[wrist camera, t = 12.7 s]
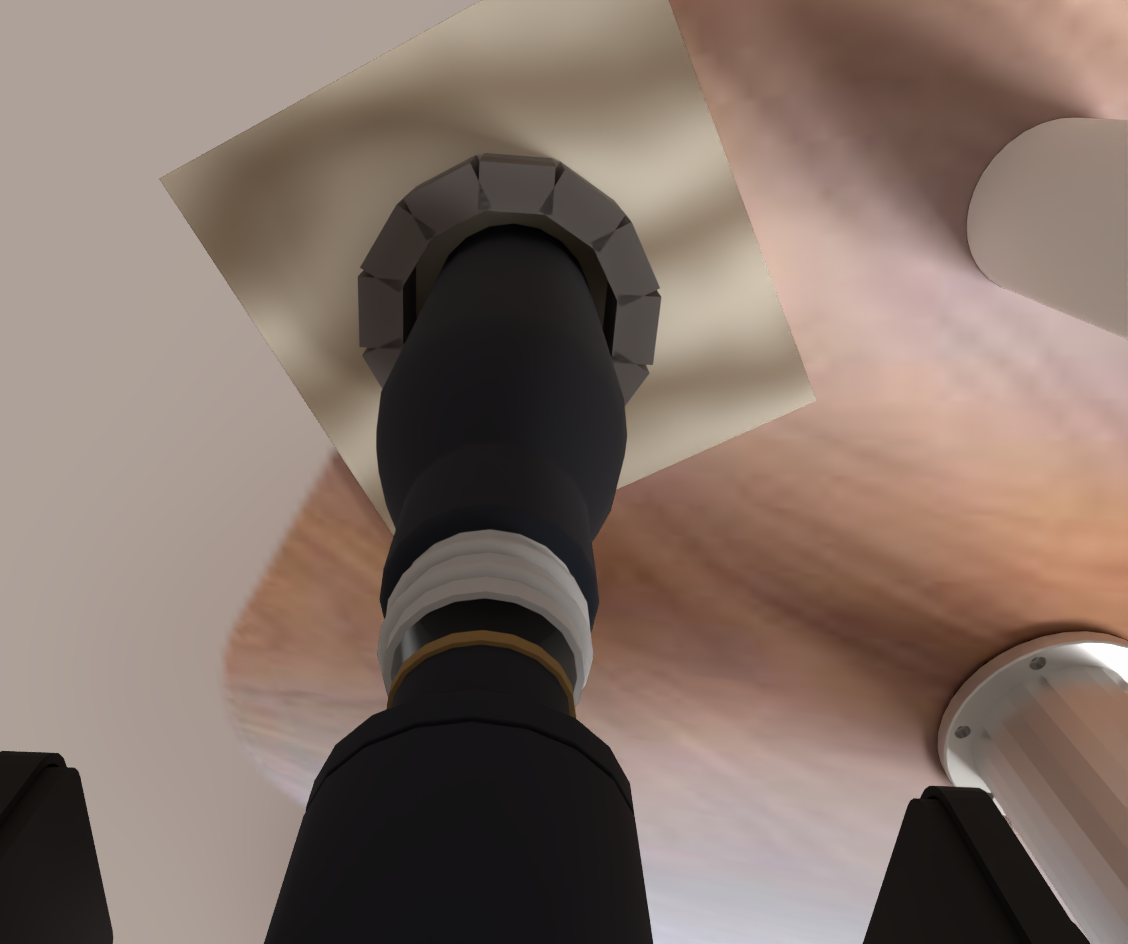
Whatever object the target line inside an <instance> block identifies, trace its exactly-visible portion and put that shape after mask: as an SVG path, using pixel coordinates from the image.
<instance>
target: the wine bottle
mask: <svg viewBox="0 0 1128 944" xmlns="http://www.w3.org/2000/svg"><path fill="white" fill-rule="evenodd" d="M626 443H627V426H626V414H625V403H624V397H623V394H622V391H621V388H620V384H619V381H618V378H617V375H616V372H615V368H614V365H613V362H612V359H611V355H610V352H609V349H608V346H607V343H606V339H605V336H604V333H603V330H602V326H601V323H600V320H599V317H598V314H597V310H596V307H595V304H594V301H593V297H592V294H591V291H590V288H589V285H588V282H587V279H586V277H585V275H584V273H583V270H582V268H581V266H580V263H579V261H578V259H577V258H576V257H575V256H574V255H573V254H572V253H571V252H570V250H569V249H568V248H567V247H566V246H565V245H564V244H563V243H562V242H561V241H560V240H558V239H556V238H555V237H553V236H551V235H550V234H548V233H546V232H544V231H543V230H541V229H539V228H534V227H529V226H524V225H520V224H515V223H514V224H505V225H497V226H489V227H487V228H485V229H483V230H481V231H479V232H477V233H475V234H472V235H470V236H468V237H466V238H465V239H464V240H463V241H462V242H461V243H460V244H459V245H458V246H457V247H456V248H455V249H454V250H453V251H452V252H451V253H450V254H449V255H448V257H447V259H446V261H445V263H444V265H443V267H442V269H441V271H440V273H439V275H438V277H437V279H436V281H435V283H434V285H433V287H432V289H431V291H430V293H429V296H428V298H427V300H426V302H425V304H424V306H423V308H422V310H421V312H420V314H419V316H418V318H417V320H416V322H415V324H414V326H413V328H412V330H411V332H410V334H409V336H408V338H407V340H406V342H405V344H404V346H403V348H402V350H401V352H400V354H399V356H398V358H397V361H396V363H395V365H394V367H393V369H392V371H391V373H390V375H389V377H388V379H387V381H386V383H385V385H384V387H383V389H382V391H381V396H380V404H379V412H378V420H377V429H376V453H377V462H378V472H379V476H380V481H381V485H382V490H383V494H384V499H385V503H386V506H387V509H388V511H389V514H390V516H391V519H392V521H393V524H394V526H395V529H396V530H395V534H394V537H393V540H392V543H391V547H390V550H389V553H388V557H387V560H386V563H385V567H384V571H383V578H382V586H381V593H380V603H381V607H382V612H383V616H384V621H383V623H382V625H381V630H380V638H379V645H378V652H377V655H378V659H379V663H380V667H381V671H382V675H383V679H384V683H385V687H386V691H387V695H388V704H387V710H384V711H382V712H379V713H377V714H374V715H372V716H371V717H369V718H368V719H367V720H366V721H365V722H363V723H362V724H361V725H360V726H358V727H357V728H356V729H355V730H353V731H352V732H351V733H350V734H348V735H347V736H346V737H345V738H343V739H342V740H341V741H340V742H339V743H337V744H336V745H335V747H334V749H333V750H332V752H331V754H330V755H329V757H328V759H327V761H326V762H325V764H324V766H323V767H322V769H321V771H320V772H319V774H318V776H317V778H316V779H315V781H314V784H313V787H312V791H311V794H310V797H309V800H308V803H307V807H306V813H305V814H304V816H303V820H302V823H301V826H300V829H299V832H298V836H297V839H296V842H295V845H294V849H293V852H292V855H291V858H290V861H289V865H288V868H287V871H286V874H285V877H284V881H283V884H282V887H281V890H280V894H279V897H278V900H277V903H276V907H275V910H274V913H273V916H272V919H271V923H270V926H269V929H268V932H267V936H266V939H265V942H264V944H653V939H652V932H651V925H650V918H649V912H648V905H647V898H646V891H645V884H644V877H643V870H642V864H641V857H640V850H639V843H638V836H637V829H636V823H635V817H634V809H633V802H632V795H631V788H630V783H629V781H628V779H627V777H626V776H625V774H624V772H623V770H622V768H621V767H620V765H619V763H618V761H617V760H616V758H615V756H614V754H613V752H612V751H611V749H610V747H609V746H608V745H606V744H605V743H604V742H603V741H602V740H601V739H599V738H598V737H597V736H596V735H595V734H593V733H592V732H591V731H590V730H589V729H588V728H586V727H585V726H584V725H583V724H582V723H580V722H579V721H578V720H577V719H576V713H575V707H576V705H577V704H578V702H579V699H580V695H581V691H582V689H583V688H584V686H585V685H586V683H587V679H588V675H589V671H590V668H591V664H592V660H593V649H592V640H591V631H592V628H593V624H594V620H595V616H596V613H597V609H598V605H599V596H598V587H597V578H596V570H595V563H594V556H593V548H592V542H593V540H594V538H595V537H596V535H597V534H598V532H599V530H600V528H601V527H602V525H603V523H604V522H605V520H606V518H607V516H608V515H609V513H610V511H611V508H612V504H613V500H614V496H615V492H616V488H617V484H618V480H619V476H620V473H621V469H622V465H623V461H624V457H625V450H626Z"/></svg>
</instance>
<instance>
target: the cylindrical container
mask: <svg viewBox="0 0 1128 944" xmlns="http://www.w3.org/2000/svg"><path fill="white" fill-rule="evenodd" d="M967 239H968V243H969V247H970V251H971V255H972V256H973V258H974V260H975V262H976V264H977V266H978V268H979V269H980V270H981V271H982V272H983V273H984V274H985V275H986V277H987V278H988V279H989V280H991V281H993V282H994V283H996V284H997V285H999V286H1000V287H1002V288H1005V289H1007V290H1010V291H1012V292H1014V293H1017V294H1019V295H1022V296H1024V297H1026V298H1029V299H1031V300H1034V301H1036V302H1039V303H1041V304H1043V305H1046V306H1048V307H1051V308H1053V309H1055V310H1058V311H1060V312H1063V313H1065V314H1067V315H1070V316H1072V317H1075V318H1077V319H1080V320H1082V321H1084V322H1087V323H1089V324H1092V325H1094V326H1096V327H1099V328H1101V329H1104V330H1106V331H1108V332H1111V333H1113V334H1116V335H1118V336H1120V337H1123V338H1125V339H1128V120H1116V119H1096V118H1076V117H1075V118H1060V119H1056V120H1052V121H1048V122H1045V123H1041V124H1039V125H1037V126H1035V127H1033V128H1031V129H1029V130H1027V131H1025V132H1023V133H1022V134H1021V135H1019V136H1018V137H1016V138H1015V139H1014V140H1012V141H1011V142H1009V143H1008V144H1007V145H1006V146H1005V147H1004V148H1003V149H1002V150H1001V151H1000V152H999V153H998V154H997V155H996V156H995V157H994V158H993V160H992V161H991V162H990V164H989V165H988V167H987V168H986V169H985V171H984V172H983V174H982V175H981V177H980V179H979V181H978V183H977V186H976V188H975V190H974V192H973V195H972V198H971V202H970V205H969V210H968V217H967Z"/></svg>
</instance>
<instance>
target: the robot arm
mask: <svg viewBox="0 0 1128 944" xmlns="http://www.w3.org/2000/svg"><path fill="white" fill-rule="evenodd" d="M938 753H939V758H940V762H941V765H942V767H943V769H944V770H945V772H946V774H947V776H948V778H949V780H950V781H951V783H952V784H953V785H954V787H948V786H929V787H927V788H926V789H925V790H924V792H923V794H922V796H921V798H920V799H912V800H911V801H910V802H909V804H908V806H907V810H906V813H905V816H904V819H903V822H902V825H901V828H900V831H899V834H898V837H897V840H896V843H895V846H894V849H893V853H892V856H891V859H890V862H889V865H888V868H887V871H886V874H885V877H884V880H883V883H882V886H881V889H880V892H879V896H878V899H877V902H876V905H875V908H874V911H873V914H872V917H871V920H870V923H869V926H868V929H867V932H866V935H865V939H864V942H863V944H1090V942H1091V944H1128V641H1127V640H1124V639H1121V638H1118V637H1115V636H1112V635H1109V634H1104V633H1096V632H1089V631H1081V632H1063V633H1058V634H1053V635H1048V636H1043V637H1039V638H1037V639H1034V640H1031V641H1028V642H1025V643H1022V644H1019V645H1017V646H1015V647H1013V648H1011V649H1009V650H1007V651H1005V652H1004V653H1002V654H1000V655H998V656H996V657H995V658H994V659H992V660H991V661H989V662H988V663H986V664H985V665H984V666H982V667H981V668H979V669H978V670H977V671H976V672H975V673H974V674H973V675H972V676H971V677H970V678H969V679H968V680H967V681H966V682H965V683H964V684H963V685H962V686H961V688H960V689H959V690H958V692H957V693H956V694H955V695H954V697H953V698H952V699H951V701H950V703H949V705H948V707H947V709H946V711H945V713H944V715H943V717H942V721H941V724H940V728H939V731H938ZM1003 815H1004V816H1007V817H1008V819H1009V820H1010V822H1011V823H1012V825H1013V826H1014V828H1015V829H1016V831H1017V832H1018V834H1019V835H1020V837H1021V838H1022V840H1023V841H1024V843H1025V844H1026V846H1027V847H1028V849H1029V850H1030V852H1031V853H1032V855H1033V856H1034V858H1035V859H1036V861H1037V862H1038V864H1039V865H1040V867H1041V868H1042V870H1043V871H1044V873H1045V874H1046V876H1047V877H1048V879H1049V880H1050V882H1051V884H1052V885H1053V887H1054V888H1055V890H1056V891H1057V893H1058V894H1059V896H1060V897H1061V899H1062V900H1063V902H1064V903H1065V905H1066V906H1067V908H1068V909H1069V911H1070V912H1071V914H1072V915H1073V917H1074V918H1075V920H1076V921H1077V923H1078V924H1079V926H1080V927H1081V929H1082V930H1083V932H1084V933H1085V935H1086V936H1087V938H1088V939H1089V941H1090V942H1089V941H1088V939H1087V938H1086V937H1085V936H1084V934H1083V933H1082V932H1081V931H1080V929H1079V928H1078V927H1077V926H1076V924H1074V923H1073V922H1072V921H1071V920H1070V918H1069V917H1068V915H1067V914H1066V912H1065V910H1064V909H1063V907H1062V906H1061V904H1060V903H1059V901H1058V900H1057V898H1056V897H1055V895H1054V894H1053V892H1052V890H1051V889H1050V887H1049V886H1048V884H1047V883H1046V881H1045V880H1044V878H1043V877H1042V875H1041V874H1040V872H1039V870H1038V869H1037V867H1036V866H1035V864H1034V863H1033V861H1032V860H1031V858H1030V857H1029V855H1028V854H1027V852H1026V850H1025V849H1024V847H1023V846H1022V844H1021V843H1020V841H1019V840H1018V838H1017V837H1016V835H1015V834H1014V832H1013V830H1012V829H1011V827H1010V826H1009V824H1008V823H1007V821H1006V820H1005V818H1004V817H1003ZM0 944H113V931H112V927H111V921H110V917H109V912H108V907H107V903H106V898H105V893H104V888H103V883H102V879H101V874H100V869H99V864H98V859H97V855H96V850H95V845H94V840H93V836H92V831H91V826H90V821H89V817H88V812H87V807H86V802H85V798H84V793H83V788H82V783H81V778H80V775H79V772H78V771H77V770H76V769H75V768H68V767H67V766H66V764H65V761H64V758H63V757H62V756H61V755H60V754H59V753H42V752H15V751H1V752H0Z"/></svg>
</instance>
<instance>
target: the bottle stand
mask: <svg viewBox="0 0 1128 944" xmlns="http://www.w3.org/2000/svg"><path fill="white" fill-rule="evenodd" d="M160 181H161V182H162V184H163V185H164V187H165V188H166V190H167V191H168V193H169V194H170V196H171V198H172V199H173V201H174V202H175V204H176V205H177V207H178V208H179V210H180V211H181V213H182V214H183V216H184V217H185V219H186V220H187V222H188V224H189V225H190V227H191V228H192V230H193V231H194V233H195V234H196V236H197V237H198V239H199V240H200V242H201V243H202V245H203V246H204V248H205V249H206V251H207V252H208V254H209V256H210V257H211V259H212V260H213V262H214V263H215V265H216V266H217V268H218V269H219V271H220V272H221V274H222V275H223V277H224V278H225V280H226V281H227V283H228V284H229V286H230V288H231V289H232V290H233V292H234V294H235V295H236V296H237V298H238V300H239V301H240V303H241V304H242V306H243V307H244V309H245V310H246V312H247V313H248V315H249V316H250V318H251V319H252V321H253V323H254V324H255V325H256V327H257V328H258V330H259V332H260V333H261V335H262V336H263V338H264V339H265V341H266V342H267V344H268V345H269V347H270V348H271V350H272V352H273V353H274V354H275V356H276V358H277V359H278V361H279V362H280V364H281V365H282V367H283V368H284V370H285V371H286V373H287V374H288V376H289V377H290V379H291V380H292V382H293V384H294V385H295V386H296V388H297V390H298V391H299V393H300V394H301V396H302V397H303V399H304V400H305V402H306V403H307V405H308V406H309V408H310V409H311V411H312V412H313V414H314V416H315V417H316V418H317V420H318V422H319V423H320V425H321V426H322V428H323V429H324V430H325V432H326V434H327V435H328V437H329V438H330V440H331V441H332V443H333V445H334V446H335V448H336V449H337V451H338V452H339V454H340V455H341V457H342V458H343V460H344V461H345V463H346V464H347V466H348V467H349V469H350V470H351V472H352V473H353V475H354V477H355V478H356V480H357V481H358V483H359V484H360V486H361V487H362V489H363V490H364V492H365V493H366V495H367V496H368V498H369V499H370V501H371V502H372V504H373V505H374V507H375V509H376V510H377V512H378V513H379V515H380V516H381V518H382V519H383V521H384V522H385V524H386V525H387V527H388V528H389V530H390V531H391V533H392V534H393V536H394V534H395V530H396V529H395V526H394V524H393V521H392V519H391V516H390V514H389V511H388V509H387V506H386V503H385V499H384V494H383V490H382V485H381V481H380V476H379V472H378V462H377V453H376V429H377V420H378V412H379V404H380V396H381V391H382V389H383V387H384V385H385V383H386V381H387V379H388V377H389V375H390V373H391V371H392V369H393V367H394V365H395V363H396V361H397V358H398V356H399V354H400V352H401V350H402V348H403V346H404V344H405V342H406V340H407V338H408V336H409V334H410V332H411V330H412V328H413V326H414V324H415V322H416V320H417V318H418V316H419V314H420V312H421V310H422V308H423V306H424V304H425V302H426V300H427V298H428V296H429V293H430V291H431V289H432V287H433V285H434V283H435V281H436V279H437V277H438V275H439V273H440V271H441V269H442V267H443V265H444V263H445V261H446V259H447V257H448V255H449V254H450V253H451V252H452V251H453V250H454V249H455V248H456V247H457V246H458V245H459V244H460V243H461V242H462V241H463V240H464V239H465V238H466V237H468V236H470V235H472V234H475V233H477V232H479V231H481V230H483V229H485V228H487V227H489V226H497V225H505V224H514V223H515V224H520V225H524V226H529V227H534V228H539V229H541V230H543V231H544V232H546V233H548V234H550V235H551V236H553V237H555V238H556V239H558V240H560V241H561V242H562V243H563V244H564V245H565V246H566V247H567V248H568V249H569V250H570V252H571V253H572V254H573V255H574V256H575V257H576V258H577V259H578V261H579V263H580V266H581V268H582V270H583V273H584V275H585V277H586V279H587V282H588V285H589V288H590V291H591V294H592V297H593V301H594V304H595V307H596V310H597V314H598V317H599V320H600V323H601V326H602V330H603V333H604V336H605V339H606V343H607V346H608V349H609V352H610V355H611V359H612V362H613V365H614V368H615V372H616V375H617V378H618V381H619V384H620V388H621V391H622V394H623V397H624V403H625V414H626V426H627V443H626V450H625V457H624V461H623V465H622V469H621V473H620V476H619V480H618V484H617V488H616V490H617V489H619V488H621V487H623V486H626V485H628V484H630V483H632V482H635V481H637V480H639V479H641V478H644V477H646V476H648V475H650V474H653V473H655V472H657V471H659V470H662V469H664V468H666V467H668V466H671V465H673V464H675V463H677V462H680V461H682V460H684V459H686V458H689V457H691V456H693V455H695V454H698V453H700V452H702V451H704V450H707V449H709V448H711V447H713V446H716V445H718V444H720V443H722V442H725V441H727V440H729V439H731V438H734V437H736V436H738V435H740V434H743V433H745V432H747V431H749V430H751V429H754V428H756V427H758V426H760V425H763V424H765V423H767V422H769V421H772V420H774V419H776V418H778V417H781V416H783V415H785V414H787V413H790V412H792V411H794V410H796V409H799V408H801V407H803V406H805V405H808V404H810V403H812V402H814V401H816V398H815V395H814V393H813V390H812V387H811V384H810V382H809V379H808V376H807V374H806V371H805V368H804V366H803V363H802V360H801V357H800V355H799V352H798V349H797V347H796V344H795V341H794V338H793V336H792V333H791V330H790V328H789V325H788V322H787V320H786V317H785V314H784V311H783V309H782V306H781V303H780V301H779V298H778V295H777V292H776V290H775V287H774V284H773V282H772V279H771V276H770V273H769V271H768V268H767V265H766V263H765V260H764V257H763V255H762V252H761V249H760V246H759V244H758V241H757V238H756V236H755V233H754V230H753V227H752V225H751V222H750V219H749V217H748V214H747V211H746V209H745V206H744V203H743V200H742V198H741V195H740V192H739V190H738V187H737V184H736V181H735V179H734V176H733V173H732V171H731V168H730V165H729V163H728V160H727V157H726V154H725V152H724V149H723V146H722V144H721V141H720V138H719V135H718V133H717V130H716V127H715V125H714V122H713V119H712V117H711V114H710V111H709V108H708V106H707V103H706V100H705V98H704V95H703V92H702V89H701V87H700V84H699V81H698V79H697V76H696V73H695V71H694V68H693V65H692V62H691V60H690V57H689V54H688V52H687V49H686V46H685V43H684V41H683V38H682V35H681V33H680V30H679V27H678V24H677V22H676V19H675V16H674V14H673V11H672V8H671V6H670V3H669V0H481V1H479V2H477V3H475V4H473V5H471V6H470V7H468V8H466V9H464V10H462V11H461V12H459V13H457V14H455V15H453V16H452V17H450V18H448V19H446V20H444V21H443V22H441V23H439V24H437V25H436V26H434V27H432V28H430V29H428V30H426V31H425V32H423V33H421V34H419V35H417V36H416V37H414V38H412V39H410V40H408V41H407V42H405V43H403V44H401V45H399V46H398V47H396V48H394V49H393V50H390V51H388V52H387V53H385V54H383V55H381V56H380V57H378V58H376V59H374V60H372V61H371V62H369V63H367V64H365V65H363V66H361V67H360V68H358V69H356V70H354V71H352V72H351V73H349V74H347V75H345V76H344V77H342V78H340V79H338V80H336V81H335V82H333V83H331V84H329V85H327V86H325V87H324V88H322V89H320V90H318V91H317V92H315V93H313V94H311V95H309V96H307V97H306V98H304V99H302V100H300V101H298V102H297V103H295V104H293V105H292V106H289V107H288V108H286V109H284V110H282V111H280V112H279V113H277V114H275V115H273V116H271V117H270V118H268V119H266V120H264V121H263V122H261V123H259V124H257V125H256V126H253V127H252V128H250V129H248V130H246V131H244V132H243V133H241V134H239V135H237V136H235V137H234V138H232V139H230V140H228V141H226V142H225V143H223V144H221V145H219V146H217V147H216V148H214V149H212V150H210V151H208V152H206V153H205V154H203V155H201V156H199V157H198V158H196V159H194V160H192V161H190V162H188V163H187V164H185V165H183V166H181V167H180V168H178V169H176V170H174V171H172V172H170V173H169V174H167V175H165V176H163V177H161V178H160Z"/></svg>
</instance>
